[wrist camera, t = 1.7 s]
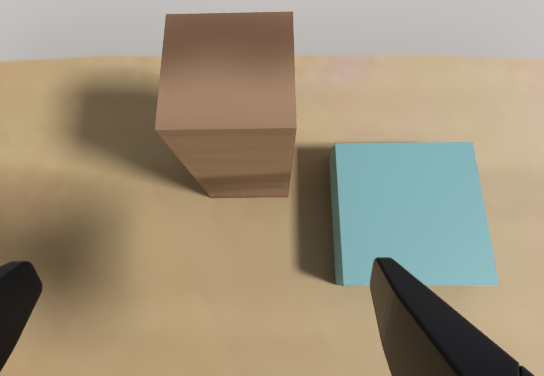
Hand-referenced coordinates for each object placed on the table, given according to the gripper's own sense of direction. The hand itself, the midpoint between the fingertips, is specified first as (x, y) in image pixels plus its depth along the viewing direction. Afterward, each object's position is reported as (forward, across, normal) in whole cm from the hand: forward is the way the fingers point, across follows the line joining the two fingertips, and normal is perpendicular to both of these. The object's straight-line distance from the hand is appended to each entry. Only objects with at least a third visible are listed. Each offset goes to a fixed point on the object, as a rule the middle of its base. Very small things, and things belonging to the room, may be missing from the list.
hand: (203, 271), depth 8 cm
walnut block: (+15, 0, +4) cm, 16 cm away
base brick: (+13, -10, +7) cm, 18 cm away
